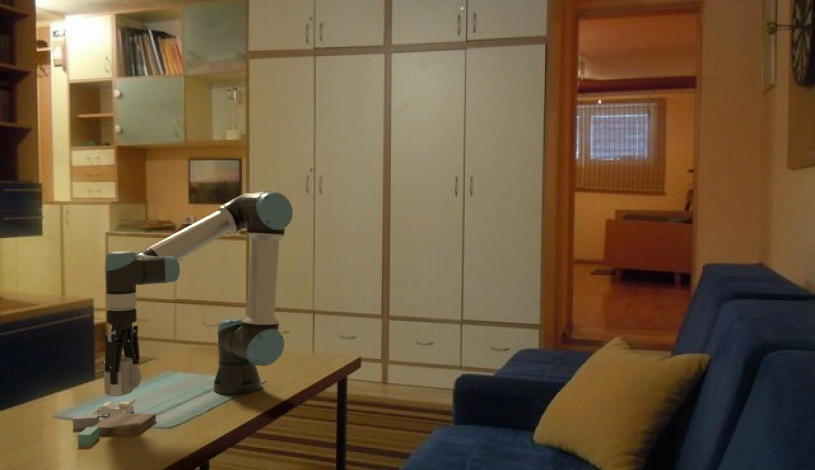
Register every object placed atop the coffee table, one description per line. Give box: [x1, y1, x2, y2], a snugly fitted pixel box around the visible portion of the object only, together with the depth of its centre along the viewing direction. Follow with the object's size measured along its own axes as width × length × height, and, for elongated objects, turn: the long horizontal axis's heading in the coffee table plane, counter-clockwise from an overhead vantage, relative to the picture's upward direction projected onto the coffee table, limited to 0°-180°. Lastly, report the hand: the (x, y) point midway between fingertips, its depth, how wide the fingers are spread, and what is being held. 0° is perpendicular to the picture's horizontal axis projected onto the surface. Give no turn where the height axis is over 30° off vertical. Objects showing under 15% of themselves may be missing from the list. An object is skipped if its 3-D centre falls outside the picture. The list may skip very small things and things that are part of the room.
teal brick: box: [77, 427, 100, 447], centre depth 177 cm, size 6×3×3 cm, turn 4°
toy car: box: [91, 398, 137, 417], centre depth 201 cm, size 6×12×4 cm, turn 90°
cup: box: [103, 356, 142, 397], centre depth 187 cm, size 7×10×9 cm
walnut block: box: [93, 412, 157, 437], centre depth 188 cm, size 12×12×2 cm
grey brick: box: [72, 414, 100, 430], centre depth 189 cm, size 6×3×3 cm, turn 102°
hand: (123, 391), depth 187 cm, fingers closed on cup, 7 cm apart
